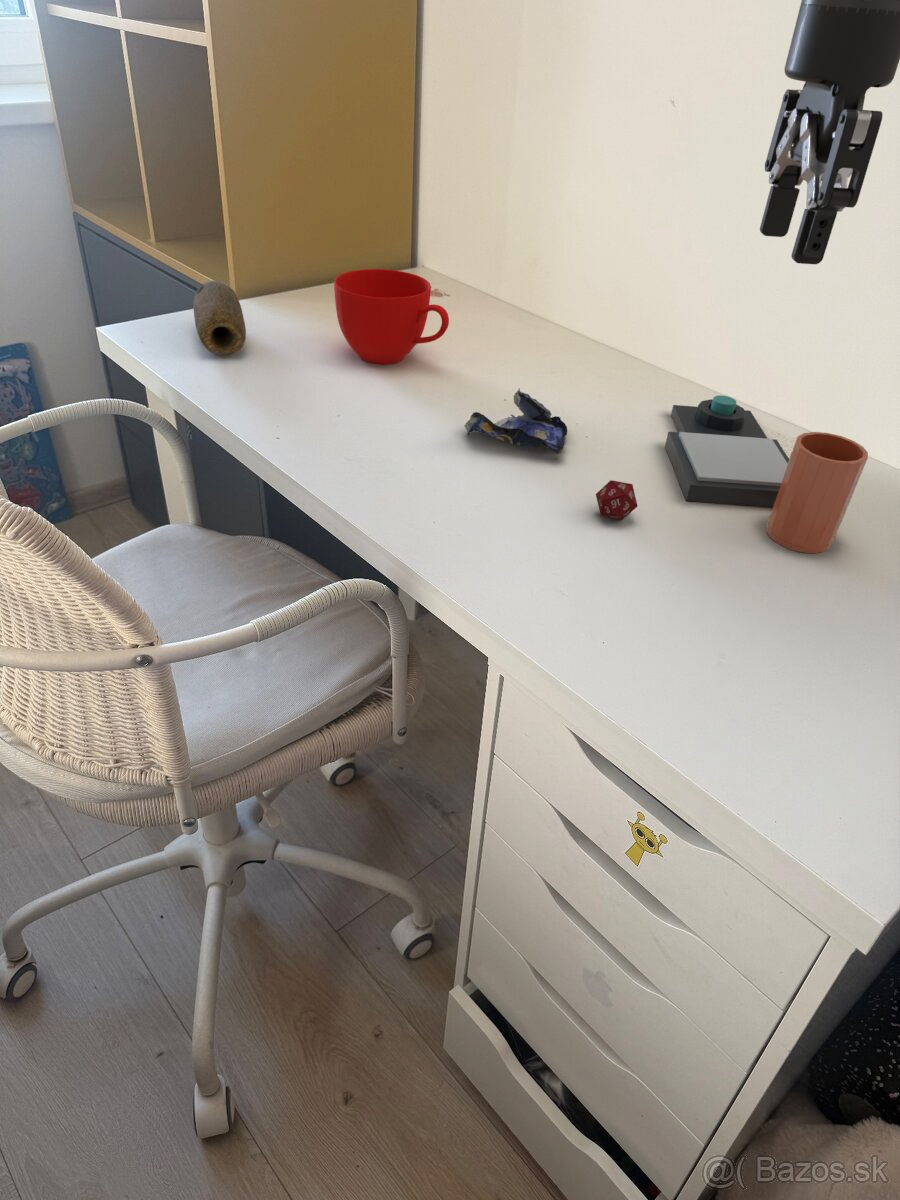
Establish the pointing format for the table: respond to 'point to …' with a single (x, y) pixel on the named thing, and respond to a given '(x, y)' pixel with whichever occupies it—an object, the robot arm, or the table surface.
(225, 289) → the stone weight
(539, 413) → the snack package
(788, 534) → the cup
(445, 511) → the table surface
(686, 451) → the scale
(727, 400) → the button
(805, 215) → the robot arm
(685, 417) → the pad
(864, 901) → the table surface
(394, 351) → the ceramic cup
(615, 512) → the dice
